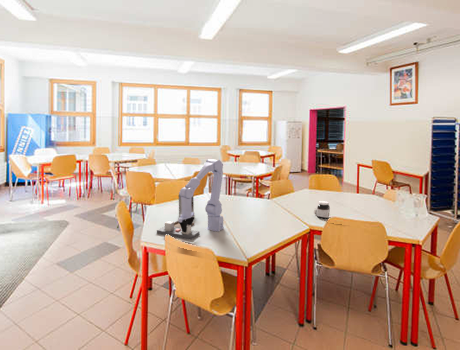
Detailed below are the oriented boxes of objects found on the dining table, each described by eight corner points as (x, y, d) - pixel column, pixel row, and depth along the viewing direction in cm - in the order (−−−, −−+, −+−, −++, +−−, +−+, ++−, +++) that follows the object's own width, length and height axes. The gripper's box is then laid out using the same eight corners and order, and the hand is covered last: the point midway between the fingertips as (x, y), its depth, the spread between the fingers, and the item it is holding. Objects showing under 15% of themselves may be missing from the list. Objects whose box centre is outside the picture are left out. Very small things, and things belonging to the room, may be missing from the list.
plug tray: (194, 225, 195) (194, 222, 195) (184, 231, 184) (184, 228, 184) (178, 222, 200) (178, 220, 199) (168, 228, 189) (168, 225, 189)
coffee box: (187, 213, 221) (187, 192, 219) (194, 215, 217) (193, 193, 215) (178, 216, 214) (178, 194, 212) (184, 218, 210) (184, 195, 208)
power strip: (199, 235, 177) (199, 230, 177) (191, 240, 169) (191, 235, 168) (165, 229, 187) (165, 224, 186) (156, 234, 178) (156, 228, 178)
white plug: (191, 236, 177) (191, 225, 175) (187, 238, 173) (187, 227, 172) (185, 235, 178) (185, 224, 177) (181, 237, 175) (181, 226, 173)
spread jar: (325, 220, 210) (326, 204, 208) (310, 217, 217) (311, 201, 215) (331, 216, 219) (332, 201, 217) (316, 213, 226) (317, 198, 224)
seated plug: (174, 232, 181) (174, 221, 180) (170, 235, 178) (170, 223, 176) (168, 231, 183) (168, 220, 182) (164, 233, 179) (164, 222, 178)
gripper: (187, 204, 181) (187, 225, 183) (173, 210, 168) (173, 233, 170) (197, 205, 178) (197, 227, 180) (184, 211, 165) (184, 235, 167)
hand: (186, 230), depth 175 cm, fingers open, 5 cm apart
